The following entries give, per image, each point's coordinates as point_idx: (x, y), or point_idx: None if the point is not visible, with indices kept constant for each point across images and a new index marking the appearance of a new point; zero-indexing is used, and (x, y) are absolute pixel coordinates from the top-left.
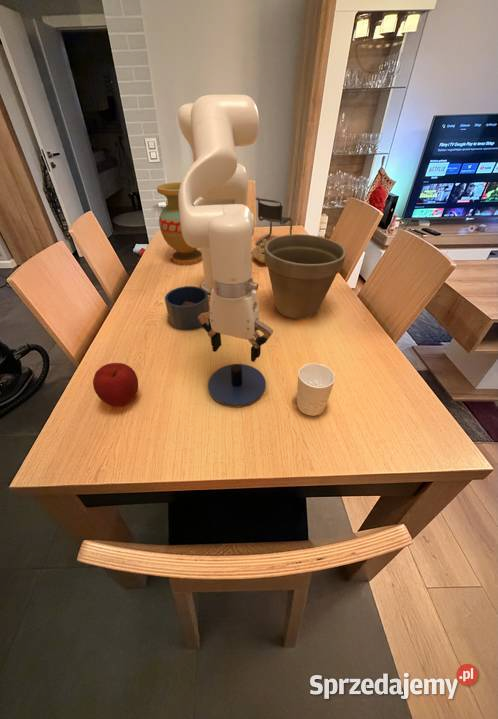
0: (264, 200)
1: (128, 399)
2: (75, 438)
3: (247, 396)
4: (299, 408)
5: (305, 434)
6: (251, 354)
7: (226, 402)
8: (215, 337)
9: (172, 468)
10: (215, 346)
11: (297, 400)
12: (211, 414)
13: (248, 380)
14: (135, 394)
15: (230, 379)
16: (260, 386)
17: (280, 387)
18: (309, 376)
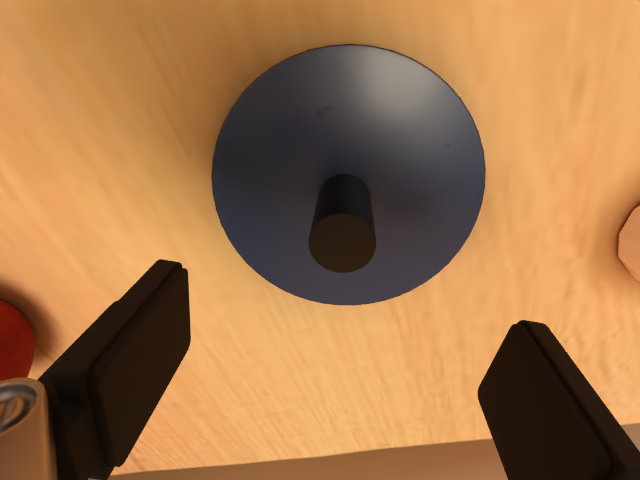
0: None
1: (25, 377)
2: None
3: (406, 261)
4: (627, 267)
5: (614, 344)
6: (506, 460)
7: (331, 300)
8: (114, 458)
9: (269, 446)
10: (167, 379)
11: (637, 258)
12: (294, 325)
13: (395, 171)
14: (23, 348)
15: (307, 184)
16: (460, 198)
17: (555, 154)
18: None
